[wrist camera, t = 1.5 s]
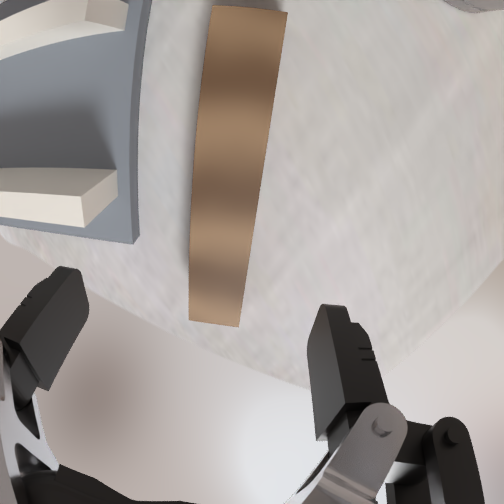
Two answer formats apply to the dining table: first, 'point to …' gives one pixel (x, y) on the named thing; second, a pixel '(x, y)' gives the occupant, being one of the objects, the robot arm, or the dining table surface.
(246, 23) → the brown wooden bar
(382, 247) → the dining table surface
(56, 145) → the ridge stand
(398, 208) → the dining table surface
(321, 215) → the dining table surface
